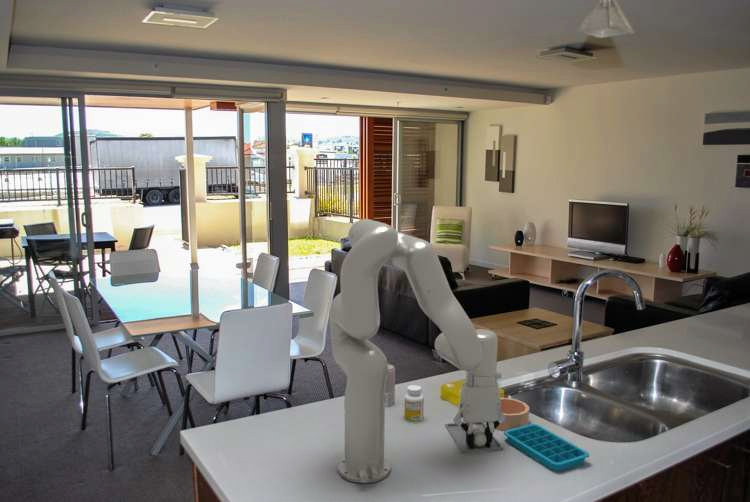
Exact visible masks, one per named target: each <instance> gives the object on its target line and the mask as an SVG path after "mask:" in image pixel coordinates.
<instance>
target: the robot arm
mask: <svg viewBox="0 0 750 502" xmlns="http://www.w3.org/2000/svg"><path fill="white" fill-rule="evenodd" d="M350 226H351V227H350V228H349V230H348V232H347V233H348V234H347V235H348V236H347V238H348V239H347V240H348V243H349V245H350V247H351V248H350V250H349V251H348V252H347V254H346V256H345V257H344V259H343V262H342V264H341V268H340V277H339V279H340V281H339V283H340V293H338V294H337V295H336V296H335V297H334V298H333V300H331V303H330V306H329V312H328V314H329V315H328V317H329V330H330V331H329V332H330V341H331V342H330V343H331V351H332V356H333V359H334V362H335V363H336V364H337V366H338V367H339V368H340V369H341V371H342V372H344V374H346V386H345V391H344V403H343V404H344V408H343V409H344V458H342V459H341V460H340V461H339V463H338V465H337V466H338V467H337V470H338V473H339V476H340V477H342V478H343V479H345V480H346V481H349V482H353V483H356V484H357V483H359V484H371V483H372V484H373V483H375V482H380V481H382V480H384V479H385V478H387V477H388V476H389V475H390V473H391V469H392V468H391V462H390V461H389V460H388V459H387V458H385V423H386V422H385V417H386V415H385V412H386V409H385V408H386V407H385V387H386V381H387V375H388V364H389V363H388V360H387V357H386V356H385V353H384V352H383V351H382V349H381V348H379V346H377V345H375V344H374V343H373V342H372V341H370V340H369V339H371V338H373V337H375V335H376V334H377V333H378V331H379V328H380V324H381V313H380V306H379V305H380V304H379V292H378V289H379V288H378V285H379V284H378V278H379V273H380V271H381V269H382V266H384V264H387V265H390V266H392V267H393V266H394V267H396V268H399V269H400V270H403V271H404V272H405V274H406V277H407V279H408V282H409V284H410V286H411V289H412V292H413V293H414V296H415V298H416V300H417V304H418V306H419V307H420V309H421V310H422V311H423V313H424V314H425V315H426V316H427V318H429V320H431V321H432V322H433V324H435V325H436V326H437V327H438V328H439V330H440V332H441V333H439V335H437V337H436V338H435V341H434V348H435V349H434V350H435V352H436V353H437V355H438V356H439V357H440V358H442V359H443V360H445V362H448V363H450V364H451V365H453V366H454V367H456V368H458V369H459V370H461V371H463V372H464V371H465V372H466V374H465V375H466V377H465V379H466V381H464V382H463V384H462V388H461V393H460V400H459V407H458V411H457V413H456V415H455V416H454V418H453V423H455V424H457V425H458V426H460V427H462V428H463V429H464V430H465V431H466V443H467V444H468V445H469V447H470V448H471V449H473V448H474V434H473V433H472V432H473V431H472V430H473V426H474V423H481V422H484V423H485V425H486V426H487V427H486V428H485V431H484V433H485V435H486V437H487V442H486V445H487V447H491V443H492V437H493V435H494V434H493V433H495V430H497V429H496V428H497V427H498V426H499V424H500V423H502V422H504V421H505V420H506V417H505V416H504V414H503V412H502V411H501V402H500V392H499V388H500V386H499V383H498V381H497V380H499V379H502V373H501V372H497V363H498V362H497V361H498V335H497V334H496V333H495V332H494V331H492V330H490V329H483V328H482V329H481V328H479V329H476V328H475V326H474V323H473V322H472V321H471V319H470V318H469V316H468V315H467V313H466V311H465V310H464V308H463V307H462V305H461V303H460V302H459V301H458V299H457V298H456V296H455V295H454V293H453V291H452V289H451V287H450V284H449V281H448V279H447V276H446V274H445V271H444V269H443V266H442V264H441V261H440V258H439V256H438V254H437V252H436V249H435V247H434V246H433V245H432V244H431V242H429V241H427V240H425V239H423V238H420V237H416V236H412V235H409V234H406V233H403V232H400V231H398V230H396V229H395V228H394V227H392V226H391V225H390V224H387V223H386V222H382V221H381V222H380V221H377V220H373V219H369V218H363V219H359V220H357V221H355V222H354V223H353V224H351V225H350ZM463 421H464V422H465V423H464V422H463Z"/></svg>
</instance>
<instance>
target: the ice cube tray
mask: <svg viewBox="0 0 750 502" xmlns="http://www.w3.org/2000/svg"><path fill="white" fill-rule="evenodd" d="M503 435H504V436H505V437H507V439H506V440H507V442H508V443H509V444H510V445H512V446H514V447H515V448H517V449H519V450H520V451H522V452H523V453H524V454H527V456H530V457H531V458H533V459H534V460H536V461H537V462H539V463H541V464H542V465H544V466H545V467H547V468H549V469H550V470H551V471H554V472H561V471H564V470H567V469H570V468H573V467H576V468H578V467H581V466H584V465H585V460H586V459H587V458H589V457H590V453H589V452H587V451H586V450H584V449H583V448H581V447H579V446H578V445H576V444H574V443H572V442H570V441H568V440H566V439H565V438H563V437H561V436H559V435H558V434H555V433H554V432H551V431H550V430H548V429H547V428H544V427H543V426H541V425H539V424H536V423H531V424H528V425H526V426H522V427H518V428H514V429H510V430H506V431H503Z"/></svg>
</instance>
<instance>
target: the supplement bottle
mask: <svg viewBox="0 0 750 502" xmlns="http://www.w3.org/2000/svg"><path fill="white" fill-rule="evenodd" d="M406 389H407V390H406V391H407V392H406V393H405V395H404V421H406V422H408V423H415V424H416V423H420V422H421V423H422V421H423V420H424V399H425V398H424V395H423V394H422V387H421V386H420V385H419V384H418V385H417V384H412V385H411V384H410V385H409V386H407V388H406Z"/></svg>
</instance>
